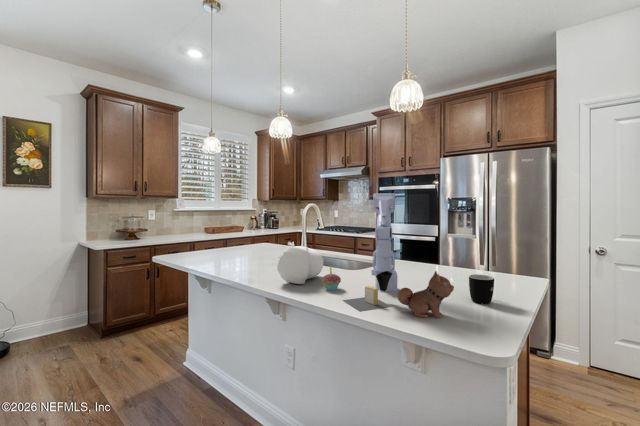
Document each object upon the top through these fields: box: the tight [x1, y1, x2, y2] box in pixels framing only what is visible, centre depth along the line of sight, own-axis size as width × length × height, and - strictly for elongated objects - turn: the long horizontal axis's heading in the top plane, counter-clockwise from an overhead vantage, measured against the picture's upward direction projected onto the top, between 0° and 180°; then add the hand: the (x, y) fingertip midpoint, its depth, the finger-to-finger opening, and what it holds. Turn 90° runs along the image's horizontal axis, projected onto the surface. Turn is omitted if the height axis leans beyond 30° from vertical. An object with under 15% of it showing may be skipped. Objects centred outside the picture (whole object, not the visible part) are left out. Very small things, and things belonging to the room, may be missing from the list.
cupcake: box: [321, 264, 342, 291], centre depth 143 cm, size 9×8×12 cm
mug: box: [468, 273, 495, 305], centre depth 126 cm, size 12×9×10 cm
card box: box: [364, 285, 379, 305], centre depth 123 cm, size 2×5×6 cm, turn 35°
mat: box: [341, 296, 392, 312], centre depth 122 cm, size 14×14×1 cm
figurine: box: [397, 270, 455, 319], centre depth 112 cm, size 10×19×15 cm, turn 80°
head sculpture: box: [276, 241, 324, 285], centre depth 161 cm, size 19×20×28 cm
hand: (383, 290), depth 125 cm, fingers closed
